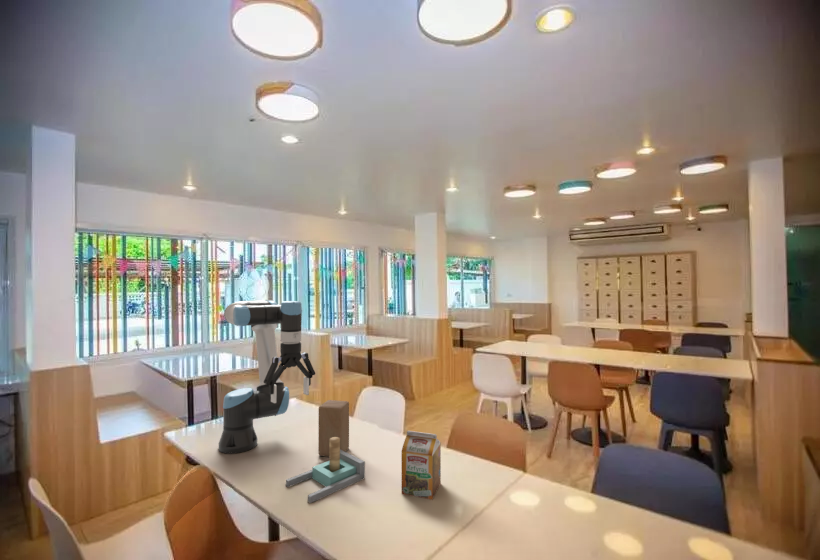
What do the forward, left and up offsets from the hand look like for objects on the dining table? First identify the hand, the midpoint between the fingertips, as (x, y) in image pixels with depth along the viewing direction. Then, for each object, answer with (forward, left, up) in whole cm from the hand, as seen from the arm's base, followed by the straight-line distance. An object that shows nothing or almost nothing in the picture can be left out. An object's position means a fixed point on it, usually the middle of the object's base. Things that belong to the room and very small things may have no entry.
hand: (290, 398), depth 149 cm
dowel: (+19, +7, -26) cm, 33 cm away
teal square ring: (+19, +7, -26) cm, 33 cm away
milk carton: (+46, +23, -26) cm, 58 cm away
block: (+1, +19, -26) cm, 33 cm away
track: (+19, +3, -26) cm, 32 cm away
